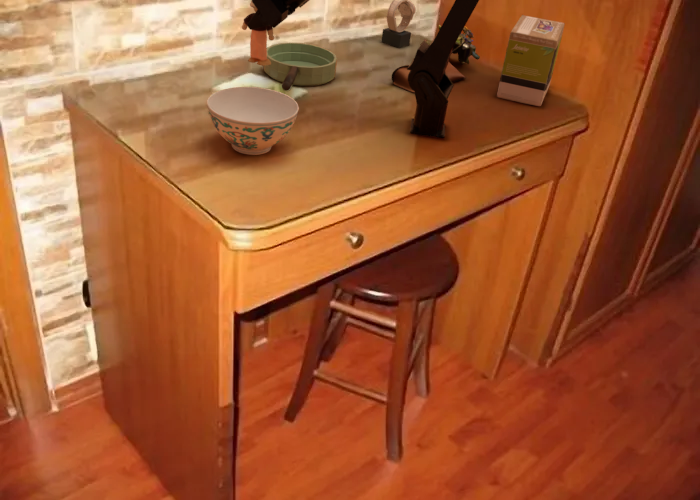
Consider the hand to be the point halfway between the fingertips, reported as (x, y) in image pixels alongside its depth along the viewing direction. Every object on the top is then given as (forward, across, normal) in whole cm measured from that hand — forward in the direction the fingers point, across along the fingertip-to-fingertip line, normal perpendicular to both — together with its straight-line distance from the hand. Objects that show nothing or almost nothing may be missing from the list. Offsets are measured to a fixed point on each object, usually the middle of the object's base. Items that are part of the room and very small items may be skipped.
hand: (251, 25), depth 138 cm
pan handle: (+3, -3, +13) cm, 13 cm away
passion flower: (-14, -40, +34) cm, 54 cm away
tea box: (-27, -31, +47) cm, 63 cm away
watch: (-4, -48, +24) cm, 54 cm away
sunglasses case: (-13, -26, +32) cm, 44 cm away
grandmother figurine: (+4, 0, +6) cm, 7 cm away
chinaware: (+3, +23, +16) cm, 28 cm away
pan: (+6, -15, +13) cm, 21 cm away
